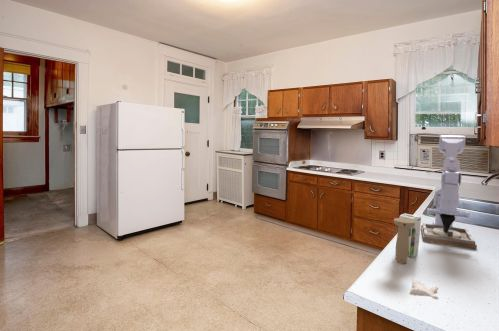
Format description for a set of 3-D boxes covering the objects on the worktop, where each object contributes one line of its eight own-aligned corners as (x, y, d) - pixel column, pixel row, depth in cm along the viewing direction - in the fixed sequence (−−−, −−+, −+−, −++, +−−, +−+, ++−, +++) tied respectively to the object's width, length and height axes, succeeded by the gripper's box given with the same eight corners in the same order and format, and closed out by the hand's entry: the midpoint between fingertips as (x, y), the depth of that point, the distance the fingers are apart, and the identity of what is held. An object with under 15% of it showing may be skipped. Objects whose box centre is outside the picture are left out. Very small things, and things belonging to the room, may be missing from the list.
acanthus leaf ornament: (409, 295, 82) (410, 288, 81) (408, 283, 88) (409, 278, 88) (441, 302, 78) (441, 295, 78) (438, 290, 84) (438, 283, 84)
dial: (430, 228, 132) (431, 221, 131) (457, 232, 128) (457, 225, 127) (435, 237, 121) (436, 229, 121) (464, 240, 117) (465, 233, 117)
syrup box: (396, 252, 109) (398, 215, 107) (402, 248, 113) (405, 212, 111) (412, 258, 105) (415, 218, 103) (418, 253, 108) (421, 215, 107)
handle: (390, 258, 104) (393, 217, 102) (410, 261, 102) (414, 219, 100) (391, 263, 100) (394, 221, 98) (412, 267, 97) (415, 223, 96)
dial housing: (420, 228, 137) (421, 222, 137) (467, 235, 129) (468, 228, 129) (423, 240, 122) (423, 233, 121) (476, 249, 113) (477, 242, 113)
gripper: (430, 200, 118) (428, 233, 120) (473, 204, 113) (470, 237, 115) (426, 197, 125) (424, 227, 126) (467, 200, 120) (463, 232, 121)
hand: (445, 232), depth 121 cm, fingers closed
